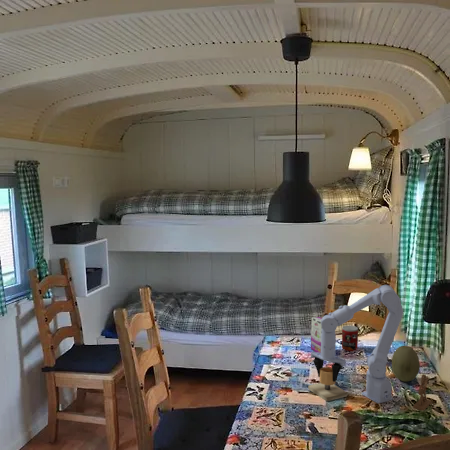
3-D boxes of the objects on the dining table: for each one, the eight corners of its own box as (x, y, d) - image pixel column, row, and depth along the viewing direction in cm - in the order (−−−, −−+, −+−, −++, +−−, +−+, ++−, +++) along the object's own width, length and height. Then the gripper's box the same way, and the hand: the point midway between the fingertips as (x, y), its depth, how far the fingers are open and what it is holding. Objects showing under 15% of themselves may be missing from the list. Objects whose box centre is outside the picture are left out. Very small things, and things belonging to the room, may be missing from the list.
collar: (337, 381, 193) (337, 369, 192) (330, 386, 188) (330, 374, 188) (324, 377, 197) (324, 366, 196) (317, 382, 192) (317, 370, 192)
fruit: (421, 387, 198) (422, 351, 196) (393, 384, 200) (394, 350, 199) (416, 375, 209) (417, 342, 207) (389, 374, 211) (390, 340, 210)
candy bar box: (330, 355, 233) (331, 322, 232) (321, 356, 232) (321, 323, 230) (319, 347, 244) (319, 316, 242) (310, 349, 242) (310, 317, 241)
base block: (347, 396, 190) (347, 392, 190) (326, 401, 185) (326, 397, 185) (328, 384, 200) (328, 381, 200) (308, 389, 196) (308, 385, 196)
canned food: (340, 350, 240) (340, 329, 239) (344, 345, 247) (344, 324, 246) (355, 352, 237) (356, 331, 236) (359, 347, 244) (359, 326, 243)
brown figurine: (423, 411, 177) (424, 379, 176) (412, 407, 180) (413, 377, 179) (431, 402, 184) (433, 372, 183) (421, 399, 187) (422, 369, 185)
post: (331, 389, 192) (331, 378, 192) (326, 390, 191) (327, 379, 191) (327, 387, 194) (328, 376, 194) (323, 388, 193) (323, 377, 193)
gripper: (349, 347, 189) (348, 380, 191) (317, 339, 199) (316, 370, 200) (341, 352, 184) (340, 386, 185) (308, 343, 193) (307, 376, 195)
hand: (327, 378), depth 192 cm, fingers closed on collar, 6 cm apart
